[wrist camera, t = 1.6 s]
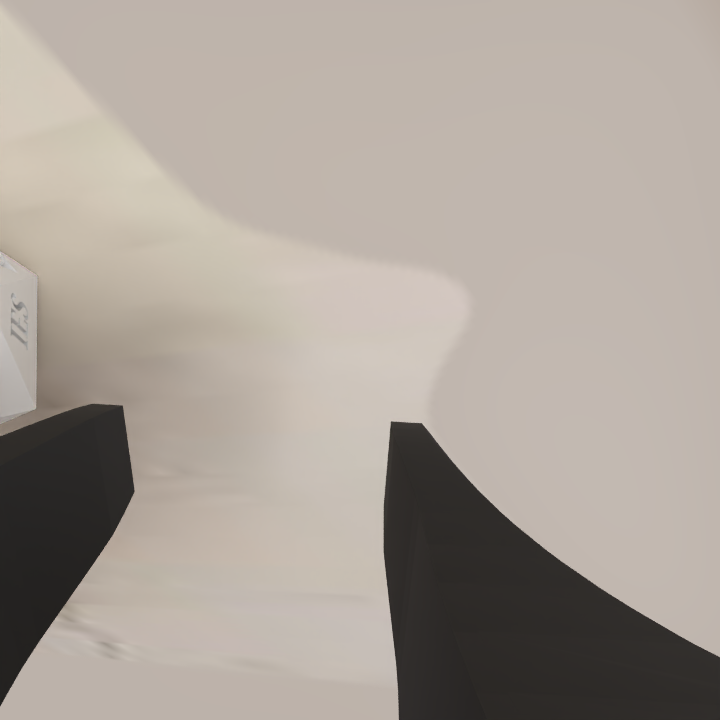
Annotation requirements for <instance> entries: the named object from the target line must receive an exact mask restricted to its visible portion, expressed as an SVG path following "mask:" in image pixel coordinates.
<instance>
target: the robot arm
mask: <svg viewBox="0 0 720 720" xmlns="http://www.w3.org/2000/svg"><path fill="white" fill-rule="evenodd" d="M134 492H135V491H134V483H133V476H132V469H131V462H130V455H129V448H128V441H127V433H126V426H125V419H124V412H123V406H119V405H102V404H90V405H86V406H82V407H79V408H75V409H72V410H69V411H66V412H64V413H61V414H58V415H55V416H53V417H50V418H47V419H45V420H42V421H39V422H37V423H34V424H32V425H29V426H26V427H24V428H21V429H19V430H16V431H13V432H11V433H8V434H6V435H3V436H1V437H0V706H1V704H2V702H3V700H4V699H5V697H6V695H7V693H8V691H9V690H10V688H11V686H12V684H13V683H14V681H15V679H16V677H17V676H18V674H19V672H20V671H21V669H22V667H23V666H24V664H25V663H26V661H27V659H28V658H29V656H30V655H31V653H32V652H33V650H34V649H35V647H36V645H37V644H38V642H39V641H40V639H41V638H42V637H43V635H44V634H45V632H46V631H47V629H48V628H49V627H50V625H51V624H52V622H53V621H54V619H55V618H56V617H57V615H58V614H59V612H60V611H61V609H62V608H63V607H64V605H65V604H66V602H67V601H68V599H69V598H70V597H71V595H72V594H73V592H74V591H75V589H76V588H77V587H78V585H79V584H80V582H81V581H82V579H83V578H84V577H85V575H86V574H87V572H88V571H89V569H90V568H91V566H92V565H93V563H94V562H95V561H96V559H97V558H98V556H99V555H100V553H101V552H102V550H103V549H104V547H105V546H106V544H107V543H108V541H109V540H110V538H111V537H112V535H113V534H114V532H115V530H116V528H117V526H118V524H119V522H120V520H121V518H122V517H123V515H124V512H125V510H126V508H127V506H128V504H129V502H130V500H131V498H132V496H133V494H134ZM384 559H385V568H386V577H387V587H388V595H389V604H390V613H391V622H392V631H393V640H394V648H395V657H396V667H397V681H398V700H399V720H720V657H718V656H716V655H714V654H712V653H710V652H708V651H706V650H704V649H702V648H701V647H699V646H697V645H695V644H693V643H691V642H689V641H687V640H686V639H684V638H682V637H680V636H678V635H677V634H675V633H673V632H672V631H670V630H668V629H667V628H665V627H663V626H661V625H660V624H658V623H656V622H655V621H653V620H651V619H649V618H648V617H646V616H644V615H642V614H641V613H639V612H637V611H636V610H634V609H632V608H631V607H629V606H627V605H626V604H624V603H623V602H621V601H619V600H618V599H616V598H615V597H613V596H612V595H610V594H608V593H607V592H605V591H604V590H602V589H601V588H599V587H597V586H596V585H594V584H593V583H592V582H590V581H588V580H587V579H586V578H584V577H583V576H581V575H580V574H579V573H577V572H576V571H574V570H573V569H571V568H570V567H569V566H567V565H565V564H564V563H563V562H561V561H560V560H558V559H557V558H556V557H555V556H553V555H552V554H551V553H549V552H548V551H547V550H545V549H544V548H543V547H541V546H540V545H539V544H538V543H537V542H535V541H534V540H533V539H532V538H530V537H529V536H528V535H527V534H526V533H524V532H523V531H522V530H521V529H519V528H518V527H517V526H516V525H515V524H513V523H512V522H511V521H510V520H509V519H508V518H507V517H505V516H504V515H503V514H502V513H501V512H500V511H499V510H498V509H497V508H496V507H495V506H494V505H493V504H492V503H491V502H490V501H489V500H488V499H487V498H485V497H484V496H483V495H482V494H481V493H480V492H479V491H478V490H477V489H476V488H475V486H474V485H473V484H472V483H471V482H470V481H469V480H468V479H467V478H466V477H465V475H464V474H463V473H462V472H461V471H460V470H459V469H458V468H457V466H456V465H455V464H454V463H453V462H452V461H451V459H450V458H449V457H448V456H447V454H446V453H445V452H444V451H443V449H442V448H441V447H440V446H439V444H438V443H437V442H436V441H435V439H434V438H433V437H432V435H431V434H430V433H429V432H428V430H427V429H426V428H425V427H424V426H423V424H422V423H406V422H391V428H390V440H389V451H388V463H387V475H386V487H385V498H384Z"/></svg>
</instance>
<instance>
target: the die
mask: <svg viewBox="0 0 720 720" xmlns="http://www.w3.org/2000/svg"><path fill="white" fill-rule="evenodd" d="M37 284H38V276H37V275H36V274H34V273H33V272H31V271H30V270H28V269H27V268H25V267H24V266H22V265H21V264H19V263H18V262H16V261H15V260H13V259H12V258H10V257H9V256H7V255H6V254H4V253H3V252H1V251H0V424H2V423H4V422H7V421H9V420H11V419H14V418H16V417H18V416H21V415H23V414H25V413H28V412H30V411H33V410H35V409H36V378H37Z"/></svg>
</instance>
